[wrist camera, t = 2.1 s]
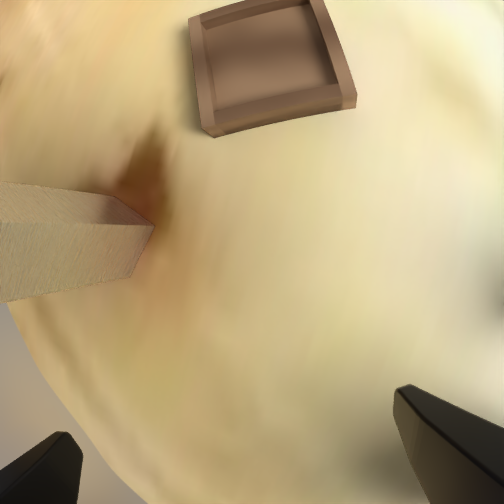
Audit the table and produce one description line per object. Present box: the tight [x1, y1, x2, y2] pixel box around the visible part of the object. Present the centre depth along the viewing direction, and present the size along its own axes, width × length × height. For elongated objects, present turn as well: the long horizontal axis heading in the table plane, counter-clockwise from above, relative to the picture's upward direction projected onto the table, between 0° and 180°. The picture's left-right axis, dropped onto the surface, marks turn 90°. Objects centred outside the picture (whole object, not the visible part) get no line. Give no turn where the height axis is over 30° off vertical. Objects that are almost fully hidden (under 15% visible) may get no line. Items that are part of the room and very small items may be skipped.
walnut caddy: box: [188, 0, 357, 138], centre depth 17 cm, size 9×9×2 cm
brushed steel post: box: [0, 181, 155, 303], centre depth 14 cm, size 4×4×14 cm
